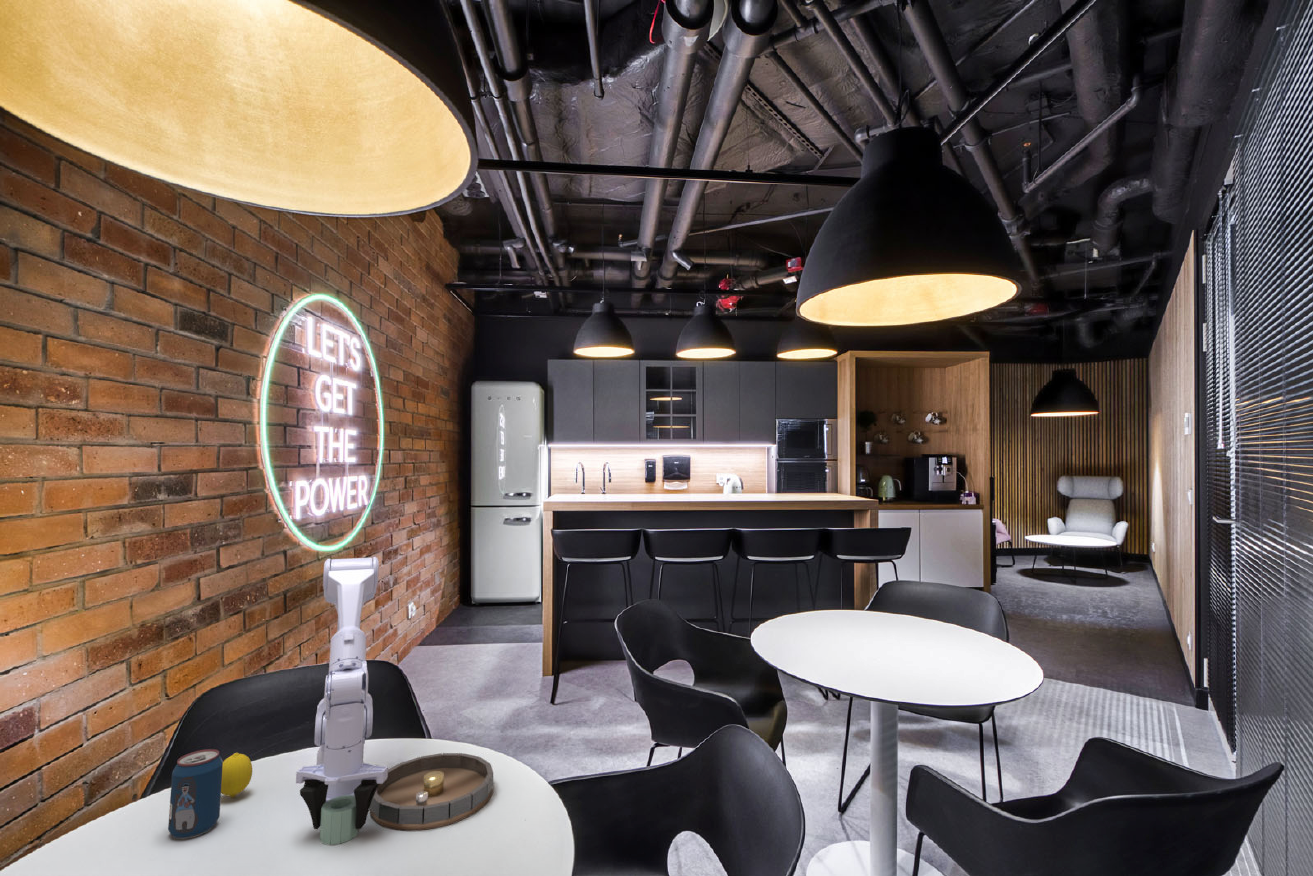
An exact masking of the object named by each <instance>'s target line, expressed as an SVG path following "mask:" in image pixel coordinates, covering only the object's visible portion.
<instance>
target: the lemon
mask: <svg viewBox="0 0 1313 876" xmlns="http://www.w3.org/2000/svg"><path fill="white" fill-rule="evenodd" d="M252 775H253V765H252V761H251V759H250V758H249V756H247V755H246V754H243V753H239V752H235V753H233V754H232V755H230V756H229V757H227V758H225V759H224V761H223V767H222V783H221V795H223V796H228V797H230V798H232V799H233V798H235V797H237V796H238V794H240V793H242V792H243V791H244V790H245V789H246V788H247V787H248V785H249V784H250V782H251V779H252Z"/></svg>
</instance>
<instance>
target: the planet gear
mask: <svg viewBox="0 0 1313 876" xmlns="http://www.w3.org/2000/svg"><path fill="white" fill-rule="evenodd" d="M319 828H320V829H319V841H320V842H321V843H322V844H323V845H327V846H328V845H329V846H332V845H340V844H342V843H346V842H348V841H351V840H352V839H354V838H355V837H356V836H357V835H358V832H359V830H360V829H356V800H355V796H354V795H344V796H338V797H336V798H333V799H330V800H329V801H327V802H326V803H324V804H323V806H322V808H321V826H320V827H319Z"/></svg>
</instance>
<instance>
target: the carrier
mask: <svg viewBox="0 0 1313 876" xmlns="http://www.w3.org/2000/svg"><path fill="white" fill-rule="evenodd" d="M493 788H494V770H493V766H492V763H490V762H488V761H487V760H485V759H484V758H482V757H480V756H477V755H473V754H469V753H461V752H457V753H456V752H453V753H452V752H443V753H442V752H441V753H434V754H430V755H429V754H428V755H423V756H418V757H415V758H412V759H409V760H405V761H403V762H399V763H398V764H395V765H394V766H391V767H390V768H388V777H387V779H386V780H385V781H384V782H383V783H382V784H379V786H378V788H377V790H376V792H375V795H374V797H373V799H372V802H371V805H370V808H369V814H370V817H371V819H372V820H373V821H374V822H375V823H376V824H378V825H379V826H382V827H384V828H388V829H392V830H397V831H407V832H408V831H409V832H413V831H414V832H415V831H425V830H432V829H438V828H442V827H446V826H449V825H452V824H454V823H457V822H460V821H463V820H465V819H467V818H469V817H471V816H472V815H474V814H476V813H477V812H479V811H480V810H482V809H483V808H484V807H485V806H486V805H487V804H488V802H489V801H490V799H491V798H492V795H493V791H492V790H493ZM483 806H484V807H483ZM470 815H471V816H470Z"/></svg>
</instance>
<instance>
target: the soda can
mask: <svg viewBox="0 0 1313 876" xmlns="http://www.w3.org/2000/svg"><path fill="white" fill-rule="evenodd" d="M176 762H177V764H176V765H175V767H174V768H173V770H172V773H171V782H170V783H171V784H170V797H169V809H168V810H169V813H168V824H167V825H168V827H167V829H168V832H169V834H170V835H171V836H172V837H173V839H177V840H188V838H189V839H194V838H196V837H199V836H202V835H204V834H206V833H207V831H208V832H209V831H210V830H212V829H213V828H214V826H215V825H216V823H217V821H218V820H219V819H220V813H221V796H222V793H221V783H222V767H223V762H224V761H223V759H222V757H221V756H220V751H219V750H218V749H212V748H209V749H201V750H196V751H193V752H190V753H187V754H185V755H182V756H180V758H178V759H177V761H176ZM203 833H204V834H203ZM201 834H202V835H201Z"/></svg>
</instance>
